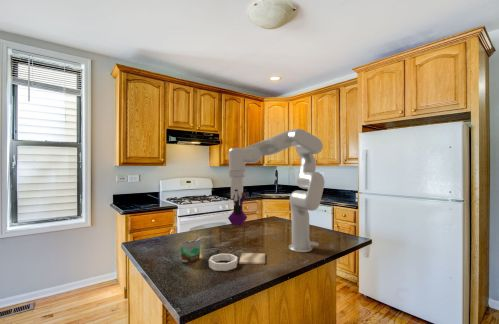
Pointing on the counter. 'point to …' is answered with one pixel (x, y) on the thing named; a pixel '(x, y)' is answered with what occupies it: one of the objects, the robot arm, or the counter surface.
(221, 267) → the holder ring
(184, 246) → the food container
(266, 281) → the counter surface
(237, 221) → the perfume bottle
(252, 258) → the coaster board
